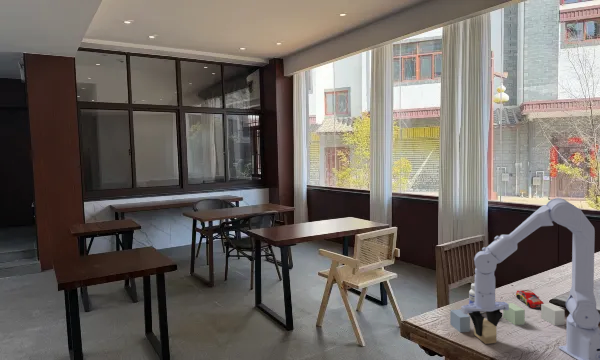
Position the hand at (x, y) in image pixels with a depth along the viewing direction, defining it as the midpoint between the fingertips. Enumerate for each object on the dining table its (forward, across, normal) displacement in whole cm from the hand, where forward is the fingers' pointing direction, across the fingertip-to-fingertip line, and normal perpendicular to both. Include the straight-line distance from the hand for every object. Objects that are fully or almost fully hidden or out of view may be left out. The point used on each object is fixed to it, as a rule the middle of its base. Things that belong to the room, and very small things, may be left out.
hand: (485, 334), depth 121 cm
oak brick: (+2, 0, 0) cm, 2 cm away
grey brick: (+2, -29, -7) cm, 30 cm away
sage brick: (+2, -17, -10) cm, 20 cm away
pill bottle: (+2, -10, -20) cm, 22 cm away
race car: (+2, -33, -23) cm, 40 cm away
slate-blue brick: (+2, +3, -9) cm, 10 cm away
